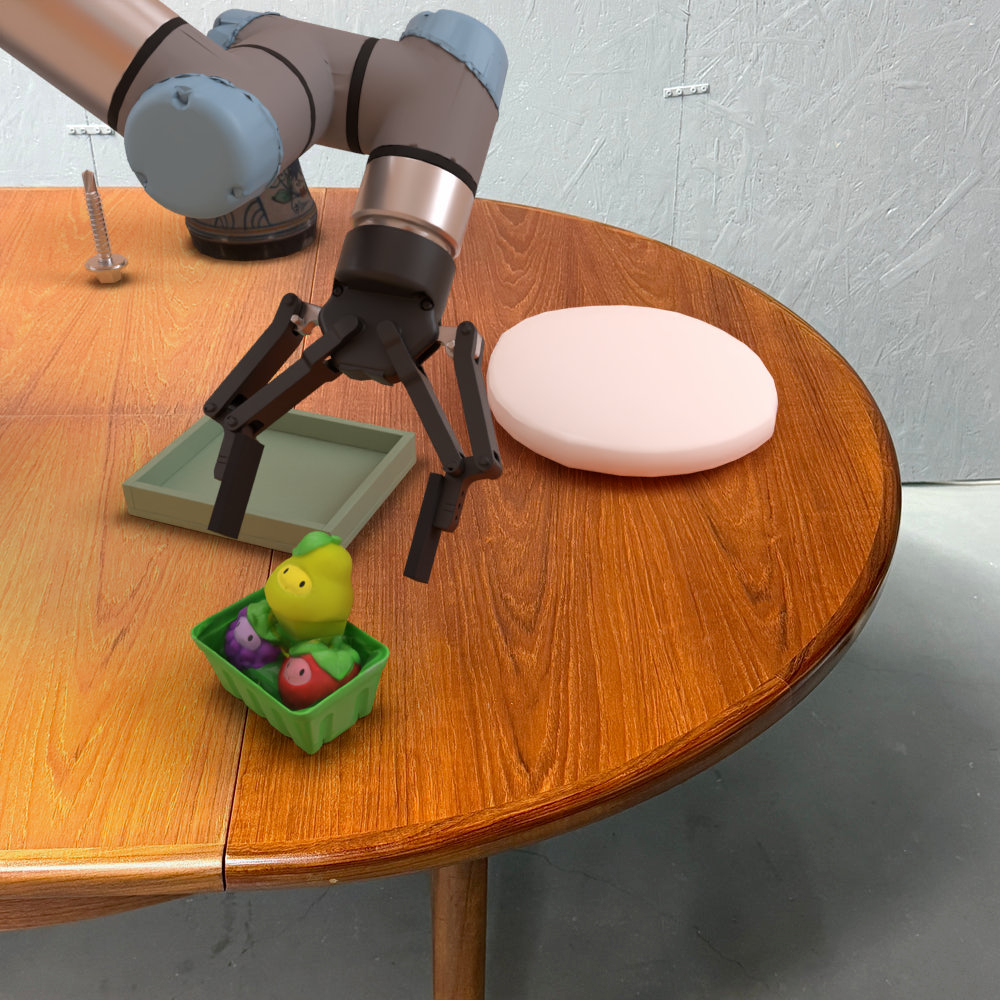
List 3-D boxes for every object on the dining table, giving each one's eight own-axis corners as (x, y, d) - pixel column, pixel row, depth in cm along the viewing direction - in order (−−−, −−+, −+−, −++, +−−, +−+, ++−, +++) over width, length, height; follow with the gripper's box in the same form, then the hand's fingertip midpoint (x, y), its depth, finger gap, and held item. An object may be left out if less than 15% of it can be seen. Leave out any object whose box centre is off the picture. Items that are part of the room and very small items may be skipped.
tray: (128, 514, 87) (121, 483, 85) (232, 424, 99) (227, 395, 97) (333, 564, 82) (330, 532, 80) (416, 462, 94) (415, 432, 92)
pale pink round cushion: (840, 417, 91) (545, 470, 84) (823, 477, 95) (540, 532, 88) (695, 264, 111) (447, 297, 104) (686, 319, 115) (447, 354, 109)
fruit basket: (195, 689, 71) (166, 551, 64) (300, 623, 76) (283, 491, 70) (307, 780, 64) (287, 637, 58) (413, 701, 70) (406, 563, 63)
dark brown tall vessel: (292, 208, 148) (271, 11, 134) (349, 254, 134) (332, 40, 120) (172, 229, 141) (137, 24, 127) (220, 280, 127) (186, 56, 113)
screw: (79, 282, 126) (109, 268, 130) (110, 290, 124) (140, 276, 128) (54, 172, 119) (86, 160, 122) (87, 178, 117) (118, 166, 121)
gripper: (594, 294, 71) (517, 607, 68) (262, 246, 78) (177, 527, 75) (575, 244, 64) (487, 592, 60) (211, 196, 71) (115, 505, 67)
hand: (316, 557), depth 68 cm, fingers open, 13 cm apart
